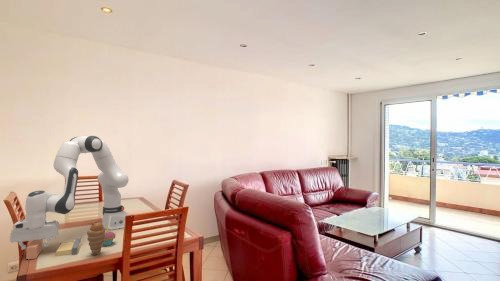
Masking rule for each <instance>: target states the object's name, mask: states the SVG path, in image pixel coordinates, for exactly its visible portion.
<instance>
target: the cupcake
mask: <svg viewBox="0 0 500 281" xmlns="http://www.w3.org/2000/svg"><path fill="white" fill-rule="evenodd" d="M116 236H117V235H116V233H114V232H113V231H109V230H108V225H107V229H106V231H105V240H104V243H103V246H104V247H107V246H111V245H112V244H113V241H114V239H116Z"/></svg>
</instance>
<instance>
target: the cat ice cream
mask: <svg viewBox="0 0 500 281" xmlns="http://www.w3.org/2000/svg"><path fill="white" fill-rule="evenodd" d="M102 222H103V220H102V219H101V220H100V221H98V222H95V221H93V222H91V227H90V228H89V230H88V231H87V233H86V235H87V236H88V237H87V241H88V246H89V248H90V251H91V252H90V253H91V255H95V256H96V255H98V254H100V253H101V251H102V248H103V246H104V245H103V243H104V240H105V232H106V229H105V228H104V227H103V224H102Z"/></svg>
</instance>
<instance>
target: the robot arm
mask: <svg viewBox="0 0 500 281" xmlns="http://www.w3.org/2000/svg"><path fill="white" fill-rule="evenodd" d="M88 153H91V155H92V158H93V159H94V162H95V164H96V166H97V168H98V170H99V171H101V172H100V173H99V174H98V176H97V180H98V181H97V182H98V183H99V185H100V186H101V190H102V195H103V206H102V210H101V212H102V213H101V214H102V218H101V221H102V220H103V222H102V224H103V227H104V228H105V230H107V225H108V231H111V230H117V229H118V230H119V228H120V229H125V228H124V221H125V216H126V215H131V214H130V213H128V212H127V211H126V210H125V206H124V205H122V194H121V192H120V191H119V189H121V188H125V187H126V186H127V185H128V183H129V180H130V179H129V176H128V175H127V174H125V173H124V171H123V170H122V169H121V168H120V167H119V165H118V163H116V161H115V159H114V156H113V154H112V152H111V150H110V148H109V146H108V144H107V143H106V141H104V140H102V139H101V138H100V137H99V136H96V135H82V136H76V137H75V136H74V137H72V138H71V139H70V140H68V141H65V142H63V143H62V144H61V146H60V147H59V149H58V151H57V153H56V155H55V157H54V159H53V160H54V161H53V169H54V170H55V171H56V172H57V173H58V174H59V175H61V176H63V177H64V179H65V182H64V188H63V193H62V194H51V193H49V192H46V191H45V190H35V191H32V192H30V193H28V194H27V196H26V199H25V208H24V209H25V217H24V219H21V220H18V221H16V222H15V223H14V224H13V225H12V229H11V231H10V233H9V234H10V235H9V242H10V243H18V245H19V246H20V250H21V251H23V250H27V244H24V242H30V241H31V242H32V241H33V240H41V239H43V240H46V242H44V243H43V248H48V246H49V242H50V240H52V239H56V238H57V237H58V236H59V233H60V232H59V227H60V221H57V220H47V213H54V214H60V215H66V214H69V213H70V212H71V211H72V210H73V209H74V207H75V204H76V191H77V185H78V179H79V170H78V169H77V163H78V160H79V156H80V155H81V154H88Z"/></svg>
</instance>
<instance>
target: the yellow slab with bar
mask: <svg viewBox="0 0 500 281" xmlns="http://www.w3.org/2000/svg"><path fill="white" fill-rule="evenodd" d="M81 240H82V238H81V237H79V238H75V240H74V241H68V242H67V241H66V242H60V243H59V244H58V247H57V248H56V250H55V257H58V256H59V257H60V256H67V255H71V256H75V255H77V254H78V253H79V251H80V249H81V246H82V241H81Z"/></svg>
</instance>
